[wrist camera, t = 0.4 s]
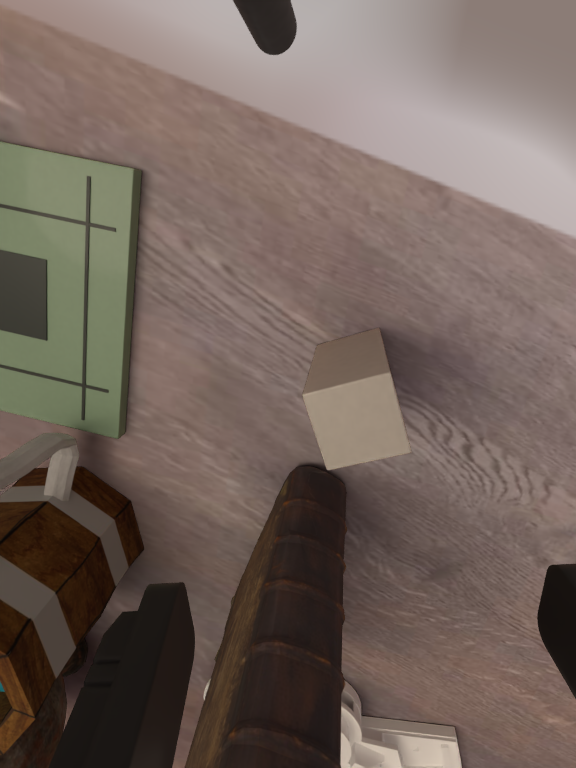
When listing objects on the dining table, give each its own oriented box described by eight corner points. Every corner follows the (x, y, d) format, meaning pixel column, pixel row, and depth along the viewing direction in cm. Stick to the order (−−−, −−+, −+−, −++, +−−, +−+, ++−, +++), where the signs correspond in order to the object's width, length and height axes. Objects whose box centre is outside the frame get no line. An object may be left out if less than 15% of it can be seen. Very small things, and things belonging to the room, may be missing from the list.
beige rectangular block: (316, 344, 32) (301, 394, 23) (379, 327, 31) (390, 371, 22) (334, 402, 33) (326, 471, 24) (395, 386, 32) (412, 453, 23)
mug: (134, 601, 43) (30, 782, 29) (4, 559, 44) (-159, 717, 30) (167, 429, 36) (49, 559, 22) (11, 380, 37) (-199, 477, 23)
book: (298, 453, 35) (193, 900, 12) (379, 490, 35) (431, 1003, 12) (226, 594, 41) (63, 1073, 18) (295, 625, 41) (222, 1140, 18)
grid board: (-106, 120, 31) (-125, 116, 30) (142, 170, 30) (132, 168, 28) (-75, 384, 38) (-89, 389, 37) (125, 432, 37) (117, 440, 36)
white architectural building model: (266, 810, 52) (258, 862, 48) (202, 651, 44) (187, 695, 40) (470, 815, 47) (481, 872, 43) (438, 637, 40) (448, 686, 35)
